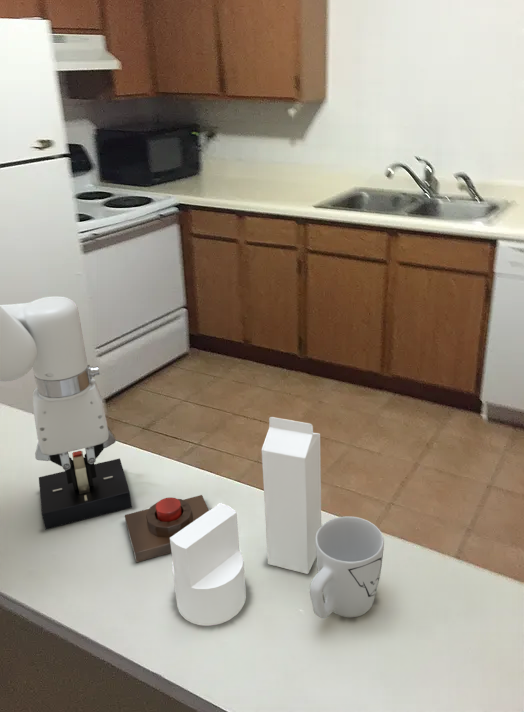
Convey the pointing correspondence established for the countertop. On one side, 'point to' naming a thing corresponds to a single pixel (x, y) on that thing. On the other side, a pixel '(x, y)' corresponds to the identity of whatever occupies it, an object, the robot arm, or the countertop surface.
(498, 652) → the countertop surface
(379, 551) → the mug
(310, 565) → the milk
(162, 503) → the timer button
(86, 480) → the knob
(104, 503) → the panel
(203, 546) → the cylinder with rectangular tab
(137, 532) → the brown button base
